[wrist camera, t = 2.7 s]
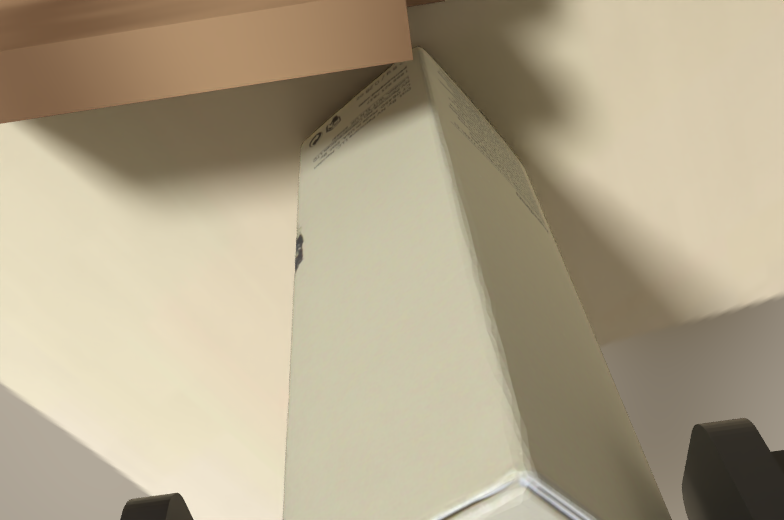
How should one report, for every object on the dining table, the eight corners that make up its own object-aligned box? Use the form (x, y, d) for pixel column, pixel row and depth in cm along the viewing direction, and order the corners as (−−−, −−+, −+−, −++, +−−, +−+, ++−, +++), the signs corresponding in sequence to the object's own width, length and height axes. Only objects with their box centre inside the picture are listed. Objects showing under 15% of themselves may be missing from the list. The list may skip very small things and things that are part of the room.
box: (294, 141, 20) (242, 614, 10) (422, 34, 18) (522, 466, 8) (418, 257, 22) (480, 727, 12) (539, 173, 21) (728, 632, 11)
